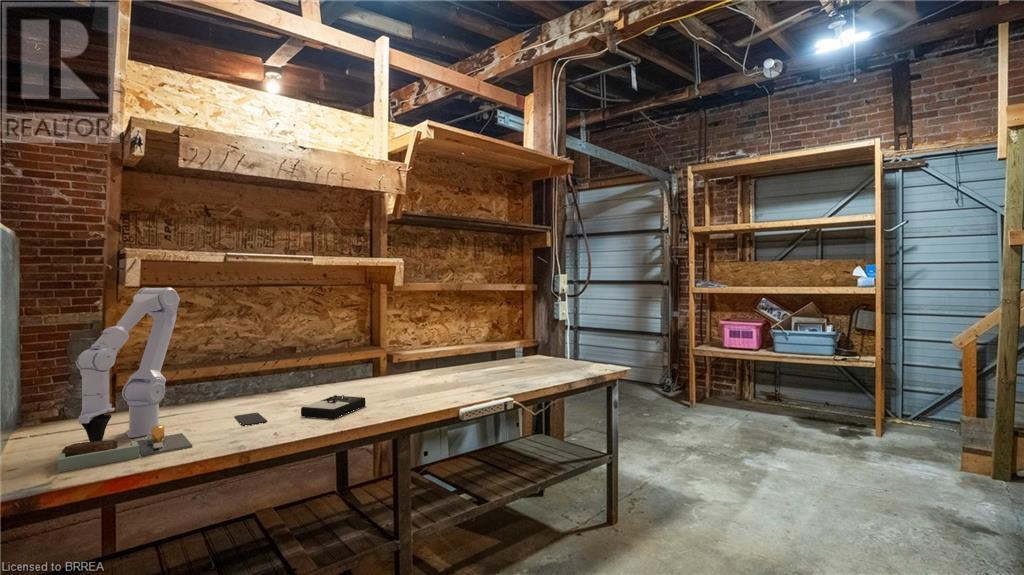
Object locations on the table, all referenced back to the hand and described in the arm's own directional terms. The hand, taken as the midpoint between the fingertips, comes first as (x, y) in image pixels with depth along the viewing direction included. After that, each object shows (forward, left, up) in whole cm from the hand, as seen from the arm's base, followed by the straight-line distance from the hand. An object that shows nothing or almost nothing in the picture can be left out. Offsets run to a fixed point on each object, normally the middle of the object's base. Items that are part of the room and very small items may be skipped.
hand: (96, 443), depth 136 cm
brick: (+11, -2, -2) cm, 11 cm away
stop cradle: (+13, 0, -1) cm, 13 cm away
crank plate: (+9, +14, -1) cm, 17 cm away
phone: (-4, +40, -2) cm, 40 cm away
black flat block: (+4, +65, -2) cm, 65 cm away
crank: (+10, +12, 0) cm, 16 cm away
